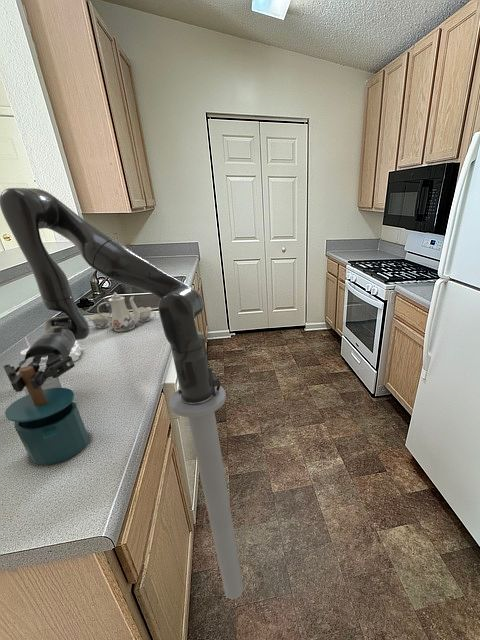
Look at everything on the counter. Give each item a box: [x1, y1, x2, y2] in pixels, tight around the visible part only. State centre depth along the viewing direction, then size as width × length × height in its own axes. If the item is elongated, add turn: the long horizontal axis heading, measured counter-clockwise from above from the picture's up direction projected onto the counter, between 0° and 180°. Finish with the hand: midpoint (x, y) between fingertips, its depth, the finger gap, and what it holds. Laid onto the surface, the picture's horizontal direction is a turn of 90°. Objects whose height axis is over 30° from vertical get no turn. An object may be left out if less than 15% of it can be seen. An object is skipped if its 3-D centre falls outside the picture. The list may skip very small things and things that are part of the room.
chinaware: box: [86, 291, 157, 333], centre depth 146 cm, size 28×17×17 cm, turn 122°
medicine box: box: [23, 377, 63, 396], centre depth 95 cm, size 8×4×9 cm, turn 145°
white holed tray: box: [69, 340, 85, 363], centre depth 120 cm, size 3×18×15 cm
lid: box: [4, 366, 75, 422], centre depth 71 cm, size 12×12×10 cm
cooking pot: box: [13, 401, 90, 466], centre depth 76 cm, size 11×17×10 cm
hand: (25, 386), depth 67 cm, fingers closed on lid, 2 cm apart
